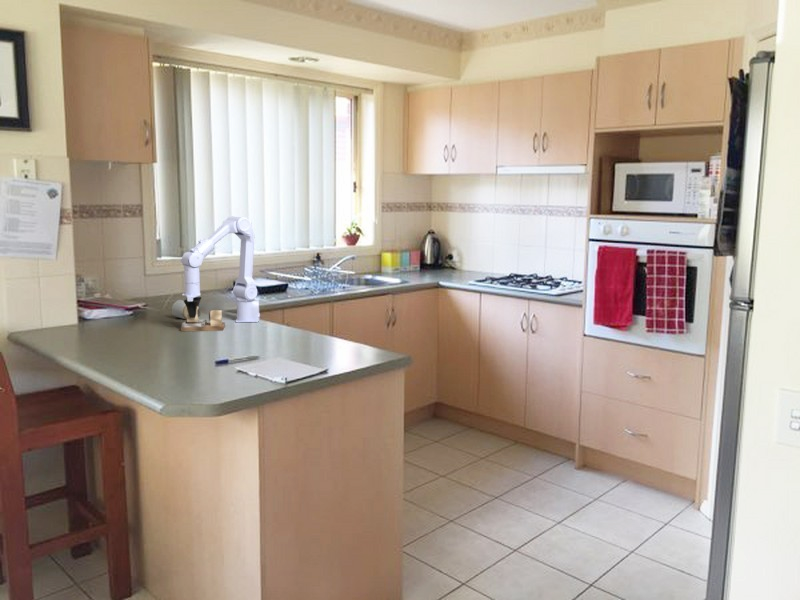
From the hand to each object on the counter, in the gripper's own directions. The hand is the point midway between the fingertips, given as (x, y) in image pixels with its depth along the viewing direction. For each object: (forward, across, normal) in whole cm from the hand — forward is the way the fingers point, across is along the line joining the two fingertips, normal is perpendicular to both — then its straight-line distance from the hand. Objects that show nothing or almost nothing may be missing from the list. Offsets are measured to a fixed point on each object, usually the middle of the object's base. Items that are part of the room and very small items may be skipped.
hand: (193, 316), depth 271 cm
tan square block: (+2, 0, 0) cm, 2 cm away
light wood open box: (+5, 0, +4) cm, 6 cm away
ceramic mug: (+5, -23, -6) cm, 24 cm away
